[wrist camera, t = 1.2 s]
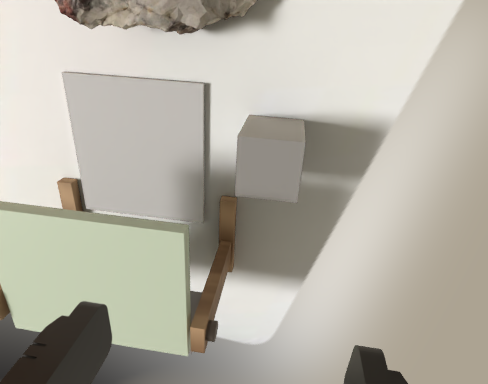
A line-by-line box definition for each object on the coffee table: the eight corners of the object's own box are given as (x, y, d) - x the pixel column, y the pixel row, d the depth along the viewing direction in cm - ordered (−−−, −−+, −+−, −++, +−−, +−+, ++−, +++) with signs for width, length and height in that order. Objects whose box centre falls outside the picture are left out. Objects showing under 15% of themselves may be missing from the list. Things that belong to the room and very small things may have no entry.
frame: (59, 177, 33) (-47, 245, 23) (241, 198, 31) (213, 281, 21) (73, 244, 37) (-13, 328, 26) (237, 266, 35) (212, 366, 25)
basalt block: (248, 114, 28) (237, 135, 22) (303, 119, 27) (305, 142, 22) (245, 165, 30) (234, 195, 24) (297, 170, 29) (297, 203, 24)
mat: (64, 71, 28) (61, 72, 28) (204, 83, 27) (203, 83, 27) (88, 206, 34) (86, 208, 34) (204, 221, 33) (203, 223, 33)
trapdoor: (24, 177, 26) (-27, 206, 22) (202, 198, 24) (183, 233, 20) (55, 295, 31) (18, 336, 27) (203, 318, 30) (188, 364, 26)
